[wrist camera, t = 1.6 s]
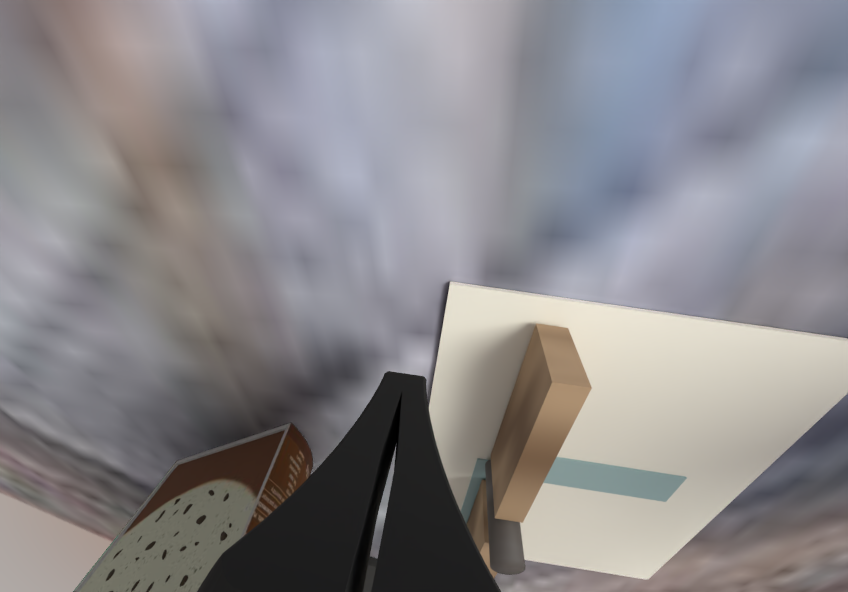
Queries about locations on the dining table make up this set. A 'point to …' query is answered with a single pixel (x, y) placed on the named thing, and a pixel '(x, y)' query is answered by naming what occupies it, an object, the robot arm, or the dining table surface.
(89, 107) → the dining table surface
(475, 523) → the fixed rail
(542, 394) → the hinged rail
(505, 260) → the dining table surface
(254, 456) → the food container
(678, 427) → the card
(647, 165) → the dining table surface
